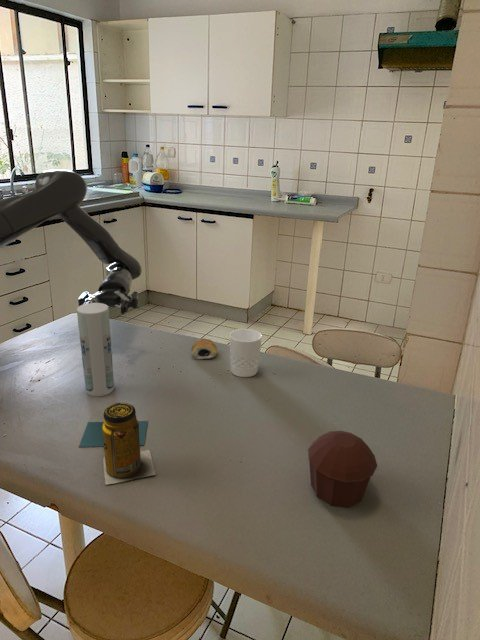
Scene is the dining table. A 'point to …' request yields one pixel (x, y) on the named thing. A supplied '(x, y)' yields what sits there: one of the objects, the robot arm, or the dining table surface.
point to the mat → (95, 434)
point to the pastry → (204, 349)
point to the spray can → (96, 348)
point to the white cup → (245, 352)
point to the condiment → (123, 446)
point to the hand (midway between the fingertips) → (104, 310)
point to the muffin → (340, 468)
